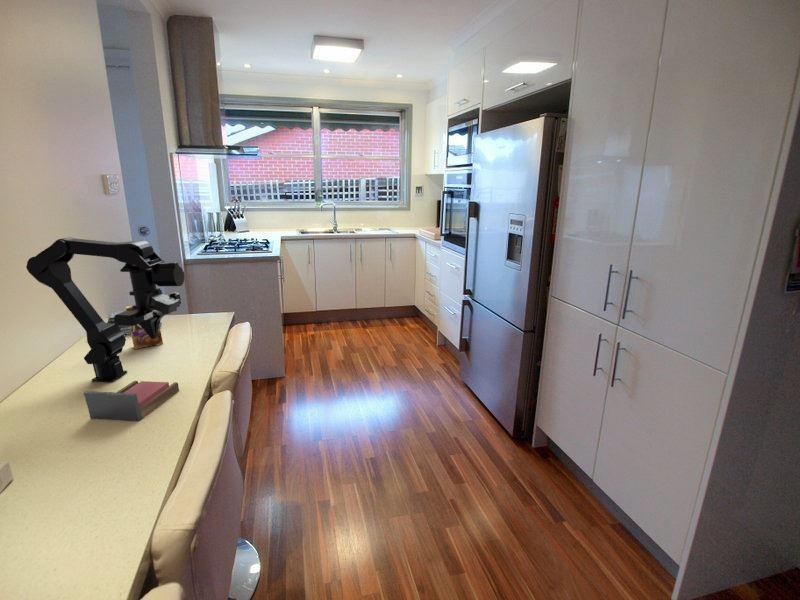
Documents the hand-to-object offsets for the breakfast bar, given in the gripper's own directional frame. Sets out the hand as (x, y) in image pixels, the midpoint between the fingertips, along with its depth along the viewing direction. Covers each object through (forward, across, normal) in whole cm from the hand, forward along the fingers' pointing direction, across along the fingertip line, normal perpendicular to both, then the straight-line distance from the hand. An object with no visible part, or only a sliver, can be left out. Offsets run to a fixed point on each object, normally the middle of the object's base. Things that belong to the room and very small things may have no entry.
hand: (154, 338), depth 118 cm
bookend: (+12, -23, -6) cm, 26 cm away
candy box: (+12, +21, +22) cm, 32 cm away
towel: (+13, +37, +41) cm, 57 cm away
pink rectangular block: (+12, -16, -7) cm, 21 cm away
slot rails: (+12, -15, -6) cm, 20 cm away
